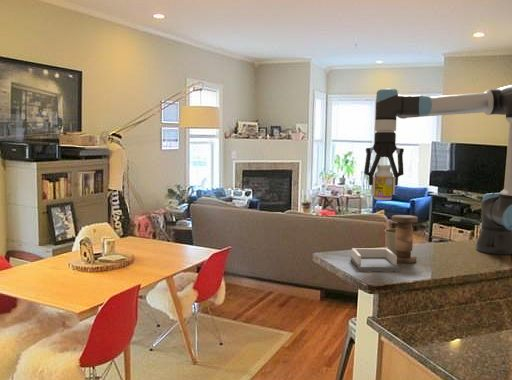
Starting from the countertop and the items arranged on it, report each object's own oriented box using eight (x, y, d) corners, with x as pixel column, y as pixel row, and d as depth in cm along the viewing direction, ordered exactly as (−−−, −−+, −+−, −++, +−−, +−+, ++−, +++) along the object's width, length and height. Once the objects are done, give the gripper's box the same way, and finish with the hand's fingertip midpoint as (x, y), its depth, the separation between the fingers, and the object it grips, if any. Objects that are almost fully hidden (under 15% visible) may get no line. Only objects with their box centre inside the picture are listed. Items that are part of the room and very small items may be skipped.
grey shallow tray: (386, 260, 176) (387, 248, 175) (399, 271, 160) (399, 258, 159) (351, 260, 176) (351, 247, 175) (360, 271, 160) (360, 258, 159)
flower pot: (381, 253, 186) (381, 231, 186) (386, 249, 195) (387, 227, 194) (406, 256, 182) (406, 233, 181) (410, 251, 190) (411, 229, 190)
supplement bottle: (369, 198, 181) (371, 164, 180) (384, 198, 184) (385, 164, 183) (381, 200, 175) (382, 165, 174) (395, 200, 178) (397, 165, 177)
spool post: (411, 257, 180) (413, 215, 179) (419, 263, 171) (421, 218, 170) (387, 257, 180) (388, 214, 179) (394, 263, 171) (395, 218, 170)
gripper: (409, 132, 181) (406, 193, 183) (356, 131, 181) (354, 192, 183) (415, 132, 173) (412, 195, 175) (360, 131, 174) (358, 194, 176)
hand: (382, 194), depth 179 cm, fingers closed on supplement bottle, 7 cm apart
